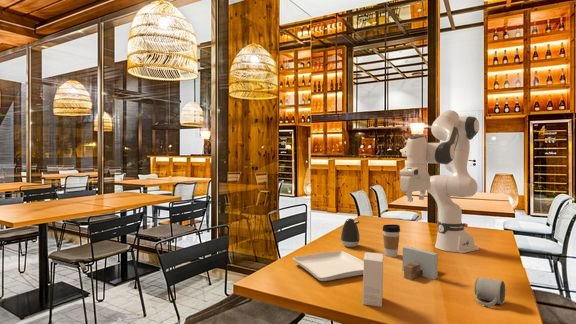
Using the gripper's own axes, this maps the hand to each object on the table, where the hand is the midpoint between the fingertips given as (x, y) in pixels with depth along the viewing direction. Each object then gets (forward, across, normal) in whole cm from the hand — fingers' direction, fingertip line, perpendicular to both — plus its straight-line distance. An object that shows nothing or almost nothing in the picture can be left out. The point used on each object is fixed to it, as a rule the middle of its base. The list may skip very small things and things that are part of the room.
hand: (415, 200), depth 154 cm
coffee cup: (+29, -2, -14) cm, 33 cm away
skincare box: (+29, +48, +12) cm, 58 cm away
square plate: (+30, +36, -18) cm, 50 cm away
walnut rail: (+29, +12, +8) cm, 32 cm away
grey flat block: (+29, +12, +8) cm, 32 cm away
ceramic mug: (+29, +18, +38) cm, 51 cm away
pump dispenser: (+29, +1, -38) cm, 48 cm away
